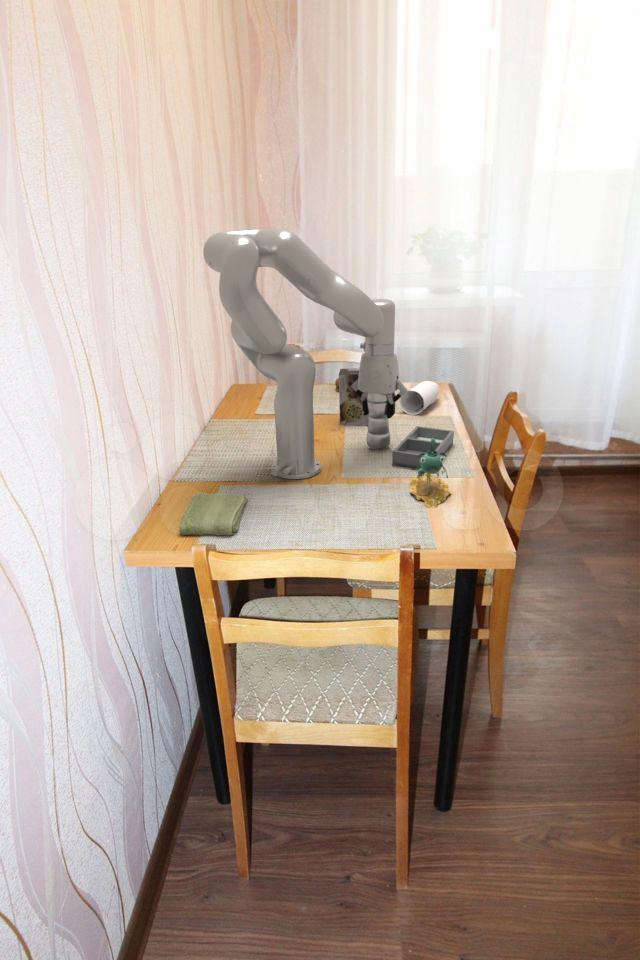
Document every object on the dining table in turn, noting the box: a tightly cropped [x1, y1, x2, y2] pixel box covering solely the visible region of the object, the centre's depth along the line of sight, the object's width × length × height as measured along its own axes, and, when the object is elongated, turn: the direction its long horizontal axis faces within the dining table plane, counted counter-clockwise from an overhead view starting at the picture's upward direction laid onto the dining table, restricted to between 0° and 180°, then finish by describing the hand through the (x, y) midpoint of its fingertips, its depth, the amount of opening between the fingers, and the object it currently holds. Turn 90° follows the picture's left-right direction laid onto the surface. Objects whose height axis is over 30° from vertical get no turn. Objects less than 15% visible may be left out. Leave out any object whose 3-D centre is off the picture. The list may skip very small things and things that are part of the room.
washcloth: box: [178, 492, 249, 536], centre depth 143 cm, size 13×18×3 cm
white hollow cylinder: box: [399, 380, 440, 416], centre depth 208 cm, size 8×19×8 cm, turn 149°
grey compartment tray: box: [391, 425, 455, 471], centre depth 172 cm, size 20×11×4 cm, turn 155°
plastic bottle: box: [365, 393, 391, 450], centre depth 174 cm, size 6×7×20 cm
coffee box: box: [338, 368, 369, 427], centre depth 194 cm, size 9×6×16 cm
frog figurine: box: [409, 438, 452, 509], centre depth 150 cm, size 10×18×15 cm, turn 173°
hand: (378, 414), depth 174 cm, fingers closed on plastic bottle, 6 cm apart
